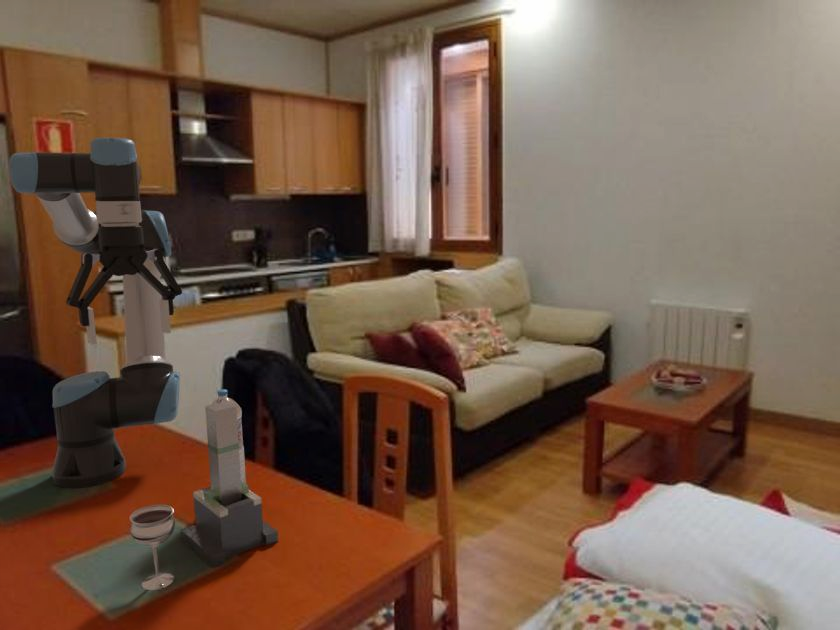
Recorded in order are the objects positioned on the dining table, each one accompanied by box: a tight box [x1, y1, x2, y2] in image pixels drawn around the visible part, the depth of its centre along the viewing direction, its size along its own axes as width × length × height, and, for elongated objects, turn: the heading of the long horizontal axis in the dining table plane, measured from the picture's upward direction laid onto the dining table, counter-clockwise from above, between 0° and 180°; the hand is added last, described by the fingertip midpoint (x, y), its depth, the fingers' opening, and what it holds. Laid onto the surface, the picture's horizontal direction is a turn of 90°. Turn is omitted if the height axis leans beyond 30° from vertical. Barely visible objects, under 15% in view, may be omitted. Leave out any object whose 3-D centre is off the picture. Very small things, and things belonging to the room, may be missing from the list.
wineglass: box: [129, 504, 176, 591], centre depth 107 cm, size 7×7×12 cm
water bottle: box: [211, 388, 247, 484], centre depth 131 cm, size 7×7×25 cm
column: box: [204, 401, 250, 507], centre depth 118 cm, size 7×4×20 cm, turn 132°
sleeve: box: [180, 485, 279, 568], centre depth 120 cm, size 13×13×9 cm
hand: (130, 337), depth 123 cm, fingers open, 13 cm apart
